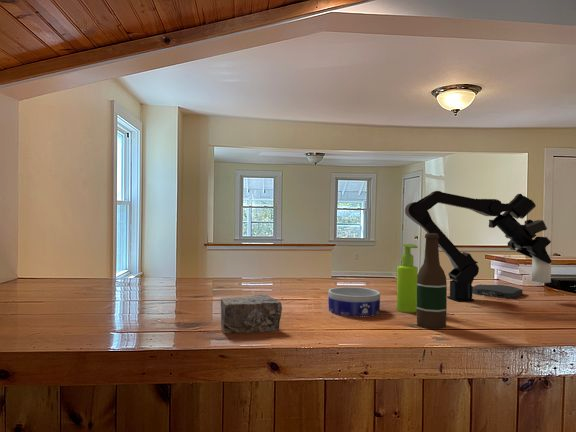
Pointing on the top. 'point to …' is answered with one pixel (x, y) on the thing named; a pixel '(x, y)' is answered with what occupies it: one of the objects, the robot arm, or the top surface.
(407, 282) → the soap dispenser
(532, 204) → the robot arm
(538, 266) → the bottle
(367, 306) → the dog bowl
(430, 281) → the beer bottle
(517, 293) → the media streaming box
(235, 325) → the stone block
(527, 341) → the top surface
